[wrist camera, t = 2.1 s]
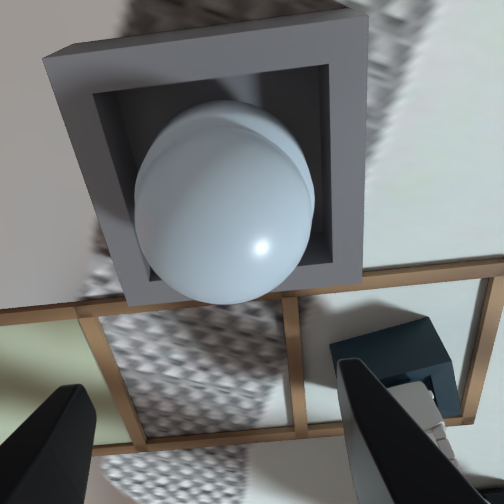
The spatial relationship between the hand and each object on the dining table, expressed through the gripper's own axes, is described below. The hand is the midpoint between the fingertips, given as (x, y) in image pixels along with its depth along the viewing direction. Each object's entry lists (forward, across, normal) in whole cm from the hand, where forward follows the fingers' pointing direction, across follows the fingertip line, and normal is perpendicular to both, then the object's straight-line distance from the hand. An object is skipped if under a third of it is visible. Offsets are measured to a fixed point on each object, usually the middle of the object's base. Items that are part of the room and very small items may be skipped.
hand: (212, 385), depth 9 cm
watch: (+12, -7, +13) cm, 19 cm away
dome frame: (+12, 0, 0) cm, 12 cm away
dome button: (+10, 0, 0) cm, 10 cm away
